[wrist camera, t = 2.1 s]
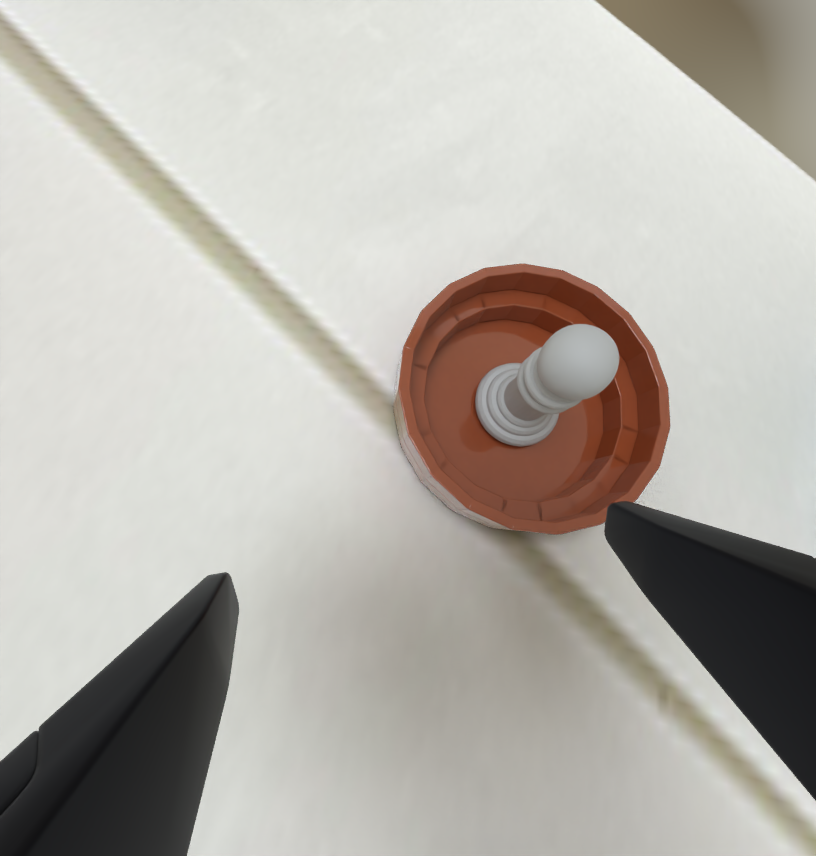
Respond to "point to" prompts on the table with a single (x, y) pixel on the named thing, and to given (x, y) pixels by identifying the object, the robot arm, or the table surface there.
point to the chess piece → (545, 384)
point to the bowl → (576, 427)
